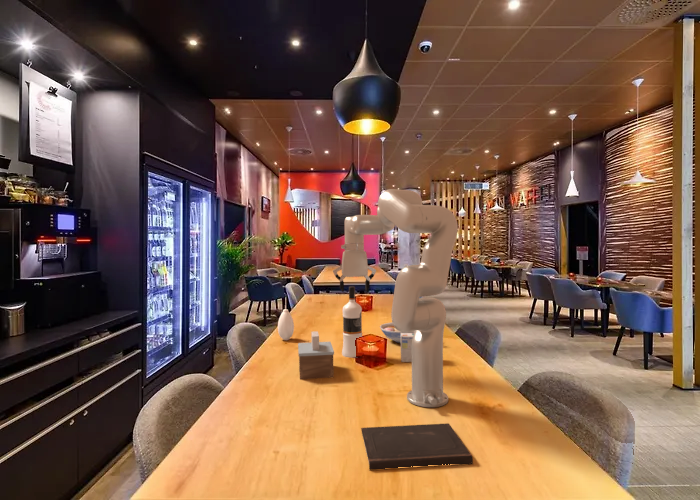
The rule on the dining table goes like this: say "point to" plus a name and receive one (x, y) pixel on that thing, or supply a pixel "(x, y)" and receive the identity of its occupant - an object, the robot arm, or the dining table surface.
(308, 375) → the walnut box
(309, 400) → the dining table surface
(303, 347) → the lid
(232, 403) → the dining table surface
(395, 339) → the ramen bowl
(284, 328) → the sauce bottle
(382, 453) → the hardcover book
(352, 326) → the vodka
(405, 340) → the light bulb box
